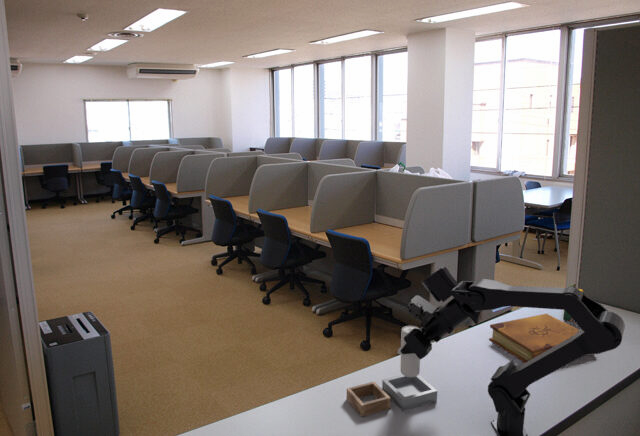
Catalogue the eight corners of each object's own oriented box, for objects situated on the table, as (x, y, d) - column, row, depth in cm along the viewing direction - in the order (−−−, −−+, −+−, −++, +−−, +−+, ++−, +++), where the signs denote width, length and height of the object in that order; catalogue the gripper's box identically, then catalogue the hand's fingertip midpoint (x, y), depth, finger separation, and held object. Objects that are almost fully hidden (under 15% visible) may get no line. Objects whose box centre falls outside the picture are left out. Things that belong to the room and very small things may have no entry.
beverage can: (409, 366, 130) (410, 323, 128) (423, 374, 126) (425, 330, 124) (396, 372, 127) (397, 328, 125) (410, 380, 124) (411, 335, 121)
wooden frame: (390, 408, 123) (390, 397, 123) (361, 416, 120) (361, 405, 119) (374, 391, 130) (374, 381, 130) (346, 399, 127) (346, 388, 127)
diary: (532, 370, 142) (534, 351, 140) (488, 341, 159) (490, 324, 157) (593, 354, 150) (595, 337, 148) (545, 329, 167) (546, 313, 165)
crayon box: (571, 321, 171) (575, 289, 168) (562, 319, 173) (566, 287, 171) (580, 315, 176) (584, 284, 173) (571, 313, 178) (575, 282, 175)
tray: (436, 401, 126) (437, 390, 125) (403, 411, 122) (403, 400, 122) (414, 381, 135) (414, 371, 134) (382, 389, 131) (382, 379, 130)
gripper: (440, 277, 127) (399, 309, 136) (413, 302, 112) (368, 336, 120) (470, 312, 125) (426, 343, 133) (446, 342, 110) (398, 375, 118)
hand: (405, 348), depth 126 cm, fingers closed on beverage can, 5 cm apart
